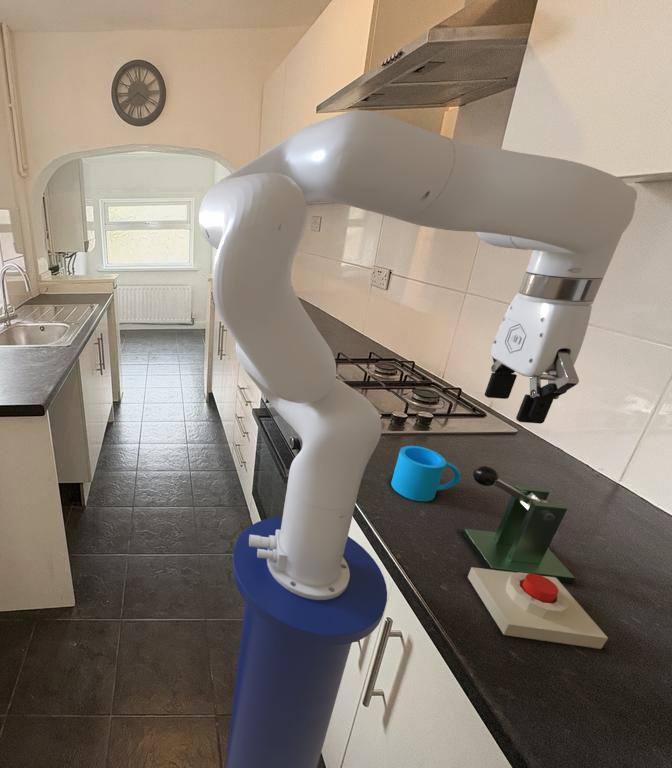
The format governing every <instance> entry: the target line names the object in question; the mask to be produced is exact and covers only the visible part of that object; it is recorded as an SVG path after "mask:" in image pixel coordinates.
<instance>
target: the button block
mask: <svg viewBox="0 0 672 768" xmlns="http://www.w3.org/2000/svg"><path fill="white" fill-rule="evenodd" d="M528 574H529V573H521V572H517V573H515V572H506V571H498V570H490V569H487V568H481V567H472V566H471V567H470V570H469V572H468V575H467V579H468V581H469V582H470V583H471V585H472V587H473V588H474V590H475V592H476V593H477V595H478V596H479V598H480V599H481V601H482V603H483V604H484V606H485V608H486V609H487V611H488V612H489V614H490V616H491V617H492V619H493V620H494V622H495V624H496V626H497V627H498V628H499V630H500V632H501V633H502V634H503V636H509V637H515V638H523V639H530V640H536V641H543V642H545V641H546V642H551V643H558V644H565V645H571V646H578V647H586V648H592V649H599V650H600V649H602V648H604V646H605V644H606V642H607V641H608V639H609V637H608V636H607V635H606V634H605V632H603V630H602V629H601V628H600V627H599V625H598V624H597V623H596V622H595V621H594V620H593V618H591V616H590V615H589V614H588V613H587V612H586V610H584V608H583V607H582V606H581V605H580V604H579V602H578V601H577V600H576V598H574V597H573V596H572V594H571V592H569V590H567V588H566V587H565V586H564V585H563V584H562V582H560V581H558V579H557V578H555V577H547V576H543V577H545V578H547V579H549V580H550V581H552V582H553V583H554V584H555V585H556V586H557V588H558V594H557V596H556V597H555V599H554V601H553V602H552V603H543V602H541V601H539V600H536V599H534V598H532V597H531V596H530V595H528V594H527V593H526V592H525V591H524V590H523V588H522V583H523V581H524V579H525V577H526V575H528Z"/></svg>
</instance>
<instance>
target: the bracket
mask: <svg viewBox="0 0 672 768" xmlns="http://www.w3.org/2000/svg"><path fill="white" fill-rule="evenodd" d="M514 488H515V489H517V490H519V491H520V492H522V493H524V494H525V495H527V496H528V495H529V494H530V493H531V492H532V493H534V494H535V495H537V496H539V497H541V498H542V499H544V500H546V501H547V499H548V497H549V494H550V491H549V490H548V489H547V488H545V487H535V486H524V485H515V487H514ZM520 501H521V500H519V499H517V498H515V497H514V496H512V495H511V497H510V499H509V501H508V504H507V506H506V508H505V511H504V513H503V516H502V518H501V521H500V523H499V525H498V528H497V529H496V531H488V530H479V529H472V528H463V530H462V535H463V537H464V538H465V540H466V541H467V542H468V544H469V545H470V547H471V548H472V550H473V551H474V552H475V554H476V555H477V557H478V558H479V560H480V561H481V563H482V564H483V566H484V567H485V569H490V570H498V571H506V572H515V573H517V572H521V573H529V574H538V575H541V576H547V577H555V578H557V579H558V581H559V582H560V583H567V584H573V582H574V581H575V579H576V577H575V576H574V575H573V573H571V572H570V571H569V569H568V568H567V567H566V566H565V565H564V564H563V562H562V561H561V560H560V559H559V558H557V556H556V555H555V554H554V553H553V552H552V551H551V549H550V548H549V547H550V546H551V543H552V541H553V539H554V537H555V535H556V533H557V531H558V529H559V527H560V525H561V523H562V521H563V520H564V517H565V515H566V513H567V511H568V510H569V509H568V507H567V506H566V505H565V504H562V503H561V504H560V503H554V502H553V503H552V502H548V503H544V502H534V501H532V502H531V504H530V506H529V509H528V510H527V509H526V508H525V507H524V506H523V505H522V504H521V503H520Z"/></svg>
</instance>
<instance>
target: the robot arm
mask: <svg viewBox="0 0 672 768" xmlns="http://www.w3.org/2000/svg"><path fill="white" fill-rule="evenodd" d="M637 198H638V192H637V189H636V188H635V187H634V186H631V185H628V184H627V183H626V182H625V181H624V180H622V179H621V178H619V177H618V176H616V175H614V174H611V173H610V172H609V173H608V172H607V171H603V170H600V169H598V168H596V167H593V166H589V165H587V164H584V163H581V162H576V161H573V160H567V159H564V158H563V159H562V158H559V157H551V156H544V155H538V154H531V153H524V152H519V151H514V150H513V151H512V150H508V149H502V148H496V147H490V146H484V145H483V146H481V145H474V144H469V143H467V142H462V141H460V140H456V139H453V138H451V137H447V136H445V135H442V134H441V133H436V132H433V131H431V130H428V129H425V128H423V127H421V126H418V125H414V124H412V123H409V122H406V121H404V120H400V119H398V118H395V117H392V116H390V115H386V114H384V113H381V112H377V111H373V110H367V109H365V110H364V109H361V110H360V109H359V110H358V109H357V110H351V111H346V112H343V113H341V114H337V115H333V116H332V117H329V118H325V119H323V120H320V121H317V122H314V123H311V124H309V125H307V126H305V127H304V128H301V129H300V130H298V131H296V132H295V133H292V134H291V135H290V136H288V137H287V138H285V139H284V140H282V141H280V142H279V143H278V144H276V145H274V146H272V147H271V148H270V149H268V150H267V151H265V152H264V153H262V154H260V155H258V156H257V157H256V158H254V159H252V160H251V161H249V162H248V163H245V164H244V165H243V166H241V167H239V168H237V169H236V170H235V171H233V172H232V173H230V174H228V175H226V176H225V177H223V178H222V179H220V180H219V181H217V182H216V183H215V184H214V185H212V186H211V187H210V188H209V190H208V191H207V192H206V194H205V196H204V197H203V199H202V202H201V204H200V207H199V211H198V224H199V229H200V231H201V235H202V236H203V237H204V239H205V240H206V242H207V243H208V244H209V245H210V246H211V247H213V248H215V249H216V250H217V251H216V255H215V258H214V263H213V264H214V265H213V270H212V298H213V302H214V306H215V310H216V312H217V315H218V317H219V318H220V320H221V322H222V323H223V325H224V326H225V328H226V329H227V331H228V332H229V333H230V335H231V337H232V338H233V339H234V341H235V354H236V358H237V361H238V362H239V365H240V366H241V367H242V369H243V371H244V372H245V374H247V375H248V377H249V378H250V379H251V381H252V382H253V383H254V385H255V386H256V387H257V388H258V390H259V391H260V392H261V394H262V395H263V396H264V397H265V398H266V400H267V401H268V402H269V403H270V405H271V406H272V407H273V409H274V410H275V411H276V412H277V413H278V415H280V416H281V418H282V419H283V421H285V422H286V423H287V424H288V425H289V426H290V427H291V428H292V429H293V430H294V432H295V433H296V434H297V435H298V436H299V437H300V439H301V443H302V447H301V449H300V451H299V452H298V454H297V455H296V456H295V457H294V458H293V460H292V462H291V464H290V467H289V473H288V476H287V477H288V479H287V486H286V493H285V499H284V506H283V511H282V517H283V518H282V524H281V530H278V529H276V533H275V536H273V535H269V537H261V536H258V535H249V547H255V548H260V547H261V548H268V550H264V549H257V558H264V559H266V558H267V566H268V568H269V571H270V572H271V574H272V576H273V577H274V578H275V579H276V581H277V582H278V583H279V584H281V585H282V586H283V587H284V588H285V589H287V590H289V591H290V592H292V593H294V594H296V595H298V596H301V597H304V598H308V599H313V600H328V599H333V598H335V597H337V596H339V595H340V594H342V593H343V592H344V591H345V589H346V588H347V586H348V582H349V577H350V572H349V567H348V565H347V562H346V561H345V559H344V557H343V554H344V550H345V546H346V542H347V537H348V536H349V533H350V530H351V524H352V520H353V516H354V512H355V509H356V503H357V499H358V494H359V490H360V487H361V483H362V479H363V476H364V473H365V471H366V467H367V465H368V463H369V461H370V459H371V457H372V455H373V453H374V452H375V450H376V447H377V446H378V444H379V442H380V440H381V436H382V433H383V432H382V431H383V422H382V418H381V416H380V413H379V412H378V410H377V408H376V407H375V405H374V404H373V403H372V402H371V401H370V400H369V399H368V398H367V397H365V395H363V394H361V393H360V392H359V391H357V390H356V389H355V388H353V387H351V386H350V385H348V384H346V383H345V382H344V381H342V380H340V379H338V378H337V365H336V364H337V362H336V358H335V356H334V354H333V351H332V349H331V347H330V346H329V344H328V343H327V341H326V339H325V338H324V337H323V336H322V334H321V332H320V331H319V330H318V328H317V326H316V325H315V323H314V322H313V320H312V319H311V317H310V316H309V314H308V312H307V311H306V309H305V308H304V306H303V305H302V303H301V301H300V299H299V297H298V295H297V293H296V291H295V289H294V287H293V282H292V269H293V264H294V260H295V257H296V254H297V251H298V249H299V246H300V244H301V241H302V239H303V237H304V232H305V230H306V226H307V221H308V206H310V205H312V204H313V203H336V204H340V205H346V206H349V207H353V208H355V209H359V210H364V211H367V212H372V213H375V214H380V215H382V216H386V217H389V218H392V219H396V220H399V221H402V222H406V223H409V224H413V225H416V226H420V227H426V228H432V229H438V230H444V231H455V232H470V233H471V232H472V233H476V235H477V236H478V238H479V239H480V240H481V241H483V242H484V243H486V244H488V245H490V246H494V247H498V248H504V249H515V250H523V251H524V250H525V251H529V250H530V251H532V253H531V256H530V258H529V261H528V264H527V267H526V269H525V273H524V277H523V278H522V281H521V285H520V287H519V290H518V292H517V293H516V294H515V297H513V299H512V301H511V303H510V304H509V306H508V308H507V309H506V312H505V314H504V316H503V319H502V321H501V323H500V325H499V328H498V330H497V332H496V335H495V337H494V340H493V342H492V346H491V349H490V355H491V357H492V361H493V364H492V365H491V367H490V371H491V374H490V377H489V380H488V383H487V385H486V388H485V392H484V396H485V398H488V399H502V400H503V399H504V400H506V399H509V398H510V395H511V393H512V391H513V387H514V385H515V382H516V380H517V377H518V375H517V374H519V375H520V376H523V377H527V378H529V394H524V397H523V399H522V401H521V404H520V406H519V409H518V412H517V414H516V416H515V420H516V421H517V422H519V423H525V424H526V423H527V424H539V425H540V424H543V423H544V422H545V420H546V419H547V416H548V413H549V412H550V409H551V407H552V404H553V402H554V400H558V399H559V398H560V396H561V395H564V394H566V393H567V392H568V391H569V390H571V389H572V388H574V387H575V386H577V385H579V382H580V379H579V376H578V374H577V371H576V369H575V364H576V362H577V359H578V357H579V355H580V353H581V349H582V346H583V343H584V340H585V337H586V335H587V330H588V327H589V322H590V319H591V313H592V308H593V306H592V305H593V304H594V302H595V299H596V297H597V295H598V292H599V290H600V287H601V285H602V283H603V281H604V278H605V276H606V274H607V272H608V271H607V270H608V269H609V267H610V264H611V261H612V259H613V258H614V254H615V252H616V249H617V247H618V245H619V242H620V241H621V239H622V236H623V234H624V233H625V232H626V230H627V229H628V227H629V226H630V224H631V223H632V220H633V218H634V215H635V210H636V201H637V200H638V199H637ZM516 373H517V374H516ZM542 381H547V384H544V385H543V386H542Z"/></svg>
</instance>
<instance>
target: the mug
mask: <svg viewBox="0 0 672 768" xmlns="http://www.w3.org/2000/svg"><path fill="white" fill-rule="evenodd" d="M445 467H447V468H450V469H451V470H452V471H453V473H454V474H453V477H452V479H451V480H449V481H448V482H446V483H444V484H440V483H441V479H442V477H443V473H444V471H445V470H444V469H445ZM460 479H461V472H460V470H459V468H458V467H457V466H456V465H454V464H453V463H451V462H449V461H447V460H446V459H445V458H444V457H443V456H442V454H440V453H439V452H437V451H435V450H433V449H430V448H427V447H423V446H419V445H418V446H417V445H406V446H403V447H400V450H399V453H398V457H397V461H396V464H395V468H394V471H393V475H392V479H391V482H390V484H391V487H392V488H393V490H394V491H395V492H397V493H398V494H399V495H401V496H402V497H404V498H407V499H409V500H412V501H418V502H429V501H432V500H434V499H435V497H436V494H437V492H438V491H444V490H448V489H450V488H453V487H454V486H455V485H457V484H458V483H459V481H460Z"/></svg>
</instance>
